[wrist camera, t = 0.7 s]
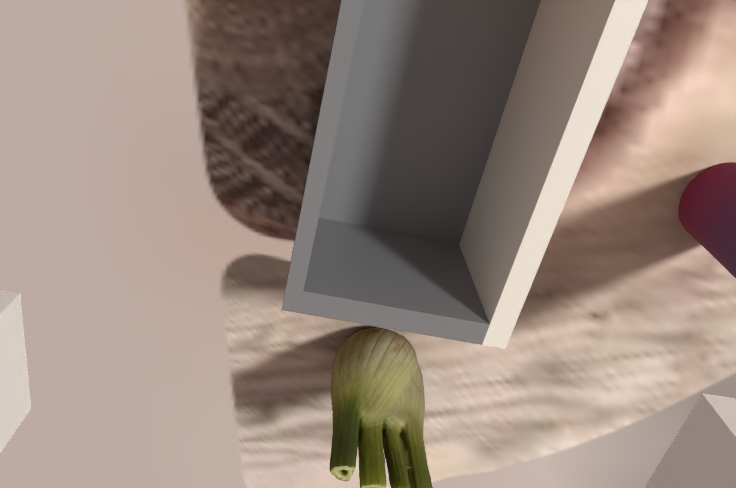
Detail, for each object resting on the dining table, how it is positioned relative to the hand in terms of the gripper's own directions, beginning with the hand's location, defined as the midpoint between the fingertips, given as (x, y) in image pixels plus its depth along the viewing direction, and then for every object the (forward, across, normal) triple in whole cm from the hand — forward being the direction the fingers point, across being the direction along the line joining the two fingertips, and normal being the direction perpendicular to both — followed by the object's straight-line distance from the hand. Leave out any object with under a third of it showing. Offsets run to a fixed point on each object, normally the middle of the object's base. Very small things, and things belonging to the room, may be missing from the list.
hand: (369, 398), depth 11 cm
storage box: (+24, +4, +5) cm, 24 cm away
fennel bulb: (+23, +4, -16) cm, 29 cm away
